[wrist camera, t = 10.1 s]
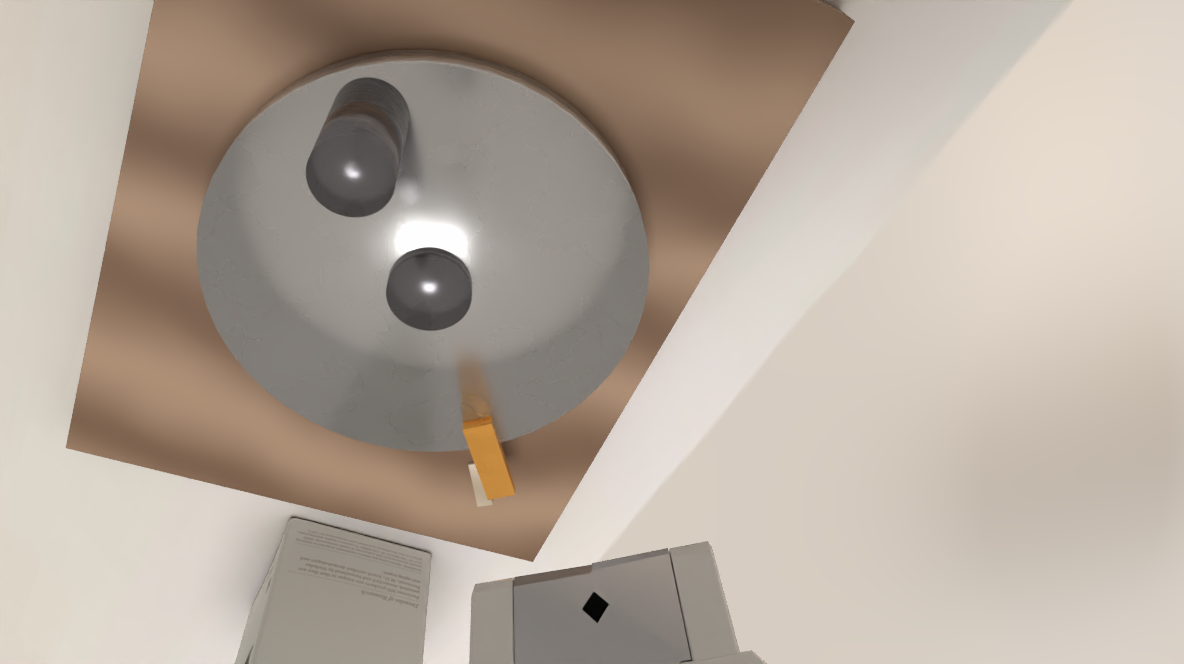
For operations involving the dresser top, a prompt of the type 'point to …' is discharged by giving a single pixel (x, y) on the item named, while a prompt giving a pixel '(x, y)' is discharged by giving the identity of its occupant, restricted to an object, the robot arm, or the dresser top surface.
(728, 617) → the robot arm
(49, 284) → the dresser top surface
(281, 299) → the dial
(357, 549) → the supplement box
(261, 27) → the base board
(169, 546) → the dresser top surface
